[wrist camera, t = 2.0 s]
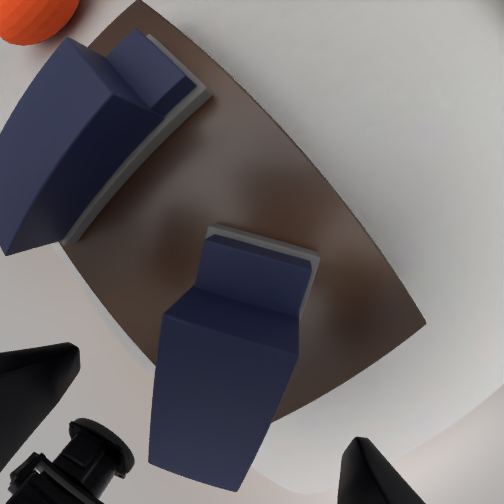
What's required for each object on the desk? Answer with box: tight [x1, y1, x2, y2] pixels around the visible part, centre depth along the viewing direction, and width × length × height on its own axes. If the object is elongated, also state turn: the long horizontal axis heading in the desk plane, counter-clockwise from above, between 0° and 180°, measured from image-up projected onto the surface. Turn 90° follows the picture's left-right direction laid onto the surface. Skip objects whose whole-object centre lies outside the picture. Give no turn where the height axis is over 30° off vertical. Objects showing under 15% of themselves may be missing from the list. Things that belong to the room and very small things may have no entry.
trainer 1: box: [0, 28, 213, 256], centre depth 9 cm, size 9×4×4 cm, turn 131°
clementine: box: [0, 0, 80, 46], centre depth 10 cm, size 8×7×7 cm
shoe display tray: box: [58, 0, 426, 423], centre depth 13 cm, size 20×11×4 cm, turn 41°
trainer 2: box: [148, 223, 320, 492], centre depth 10 cm, size 9×4×4 cm, turn 166°
